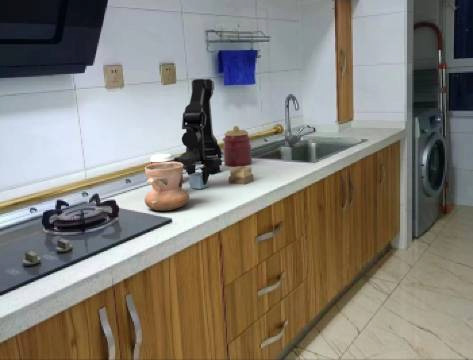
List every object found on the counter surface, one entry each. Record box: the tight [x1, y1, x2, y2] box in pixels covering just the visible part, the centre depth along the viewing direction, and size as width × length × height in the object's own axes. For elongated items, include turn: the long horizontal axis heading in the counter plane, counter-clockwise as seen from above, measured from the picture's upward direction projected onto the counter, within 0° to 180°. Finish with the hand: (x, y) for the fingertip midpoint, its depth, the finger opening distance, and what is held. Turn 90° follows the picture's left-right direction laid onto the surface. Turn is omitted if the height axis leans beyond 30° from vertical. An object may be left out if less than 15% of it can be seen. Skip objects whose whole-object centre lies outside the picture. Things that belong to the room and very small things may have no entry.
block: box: [188, 171, 209, 190], centre depth 186 cm, size 5×5×5 cm
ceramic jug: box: [144, 162, 190, 212], centre depth 161 cm, size 18×14×14 cm
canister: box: [222, 125, 253, 167], centre depth 227 cm, size 13×13×18 cm
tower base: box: [228, 173, 255, 186], centre depth 192 cm, size 7×7×3 cm
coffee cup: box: [149, 153, 174, 164], centre depth 174 cm, size 8×8×15 cm
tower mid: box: [229, 166, 253, 178], centre depth 191 cm, size 6×6×3 cm
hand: (199, 184), depth 186 cm, fingers closed on block, 5 cm apart
